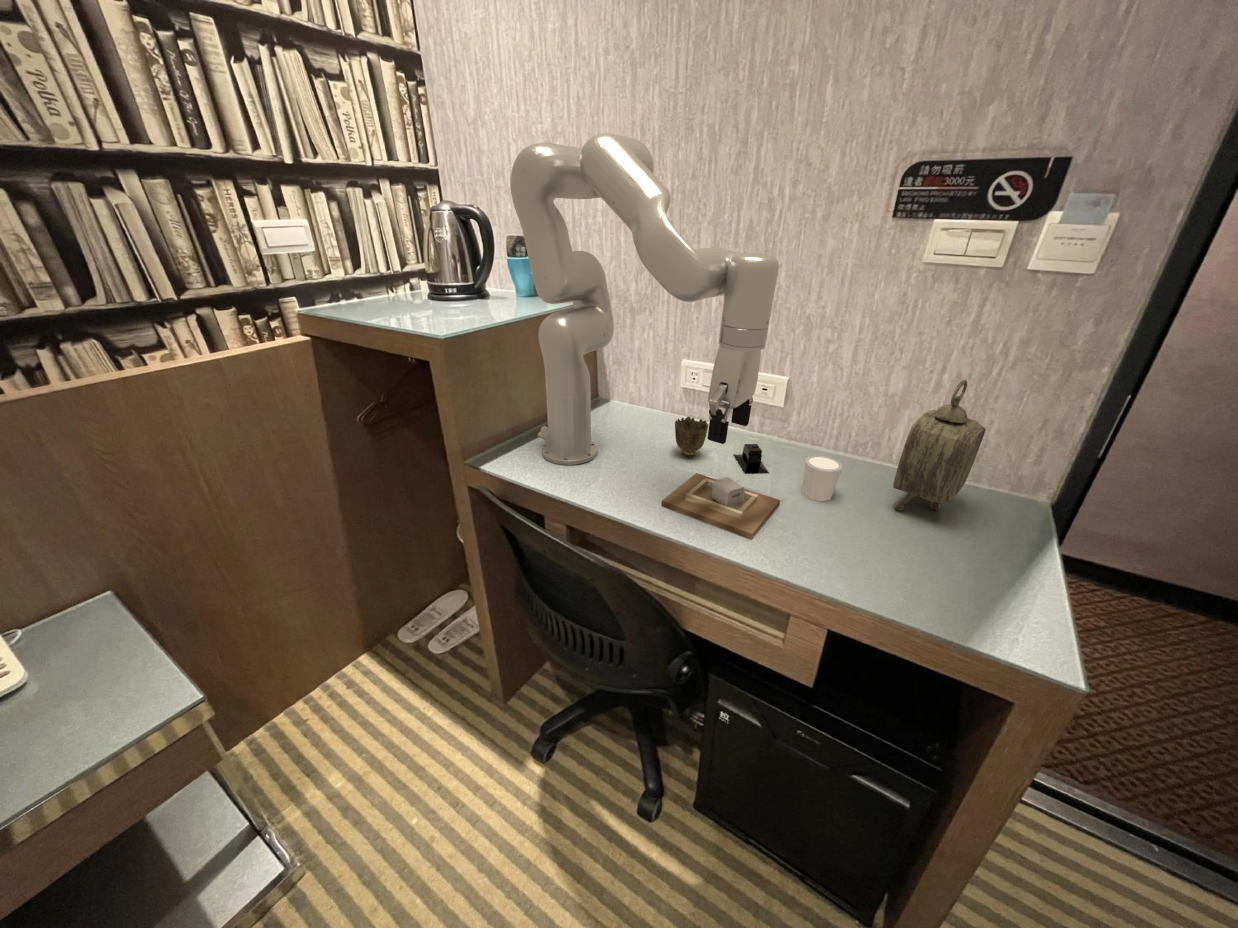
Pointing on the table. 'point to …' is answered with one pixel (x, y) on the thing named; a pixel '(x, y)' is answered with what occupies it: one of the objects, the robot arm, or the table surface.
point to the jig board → (721, 507)
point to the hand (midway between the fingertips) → (728, 432)
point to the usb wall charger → (727, 492)
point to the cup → (690, 435)
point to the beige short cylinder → (820, 477)
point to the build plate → (751, 460)
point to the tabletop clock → (939, 453)
